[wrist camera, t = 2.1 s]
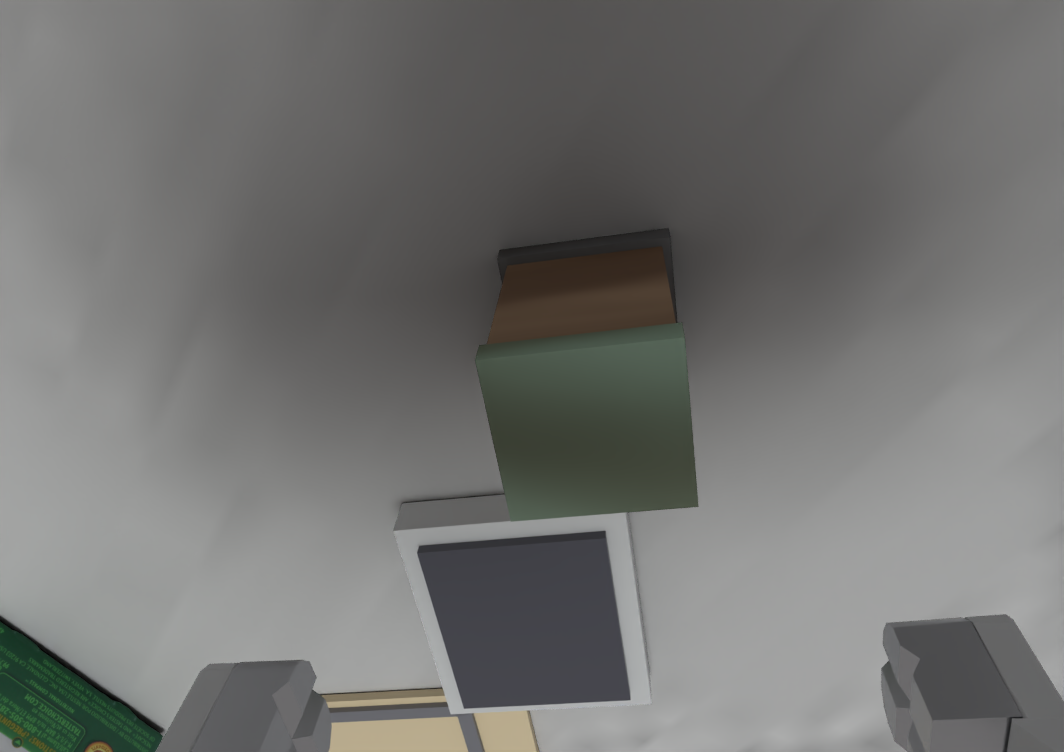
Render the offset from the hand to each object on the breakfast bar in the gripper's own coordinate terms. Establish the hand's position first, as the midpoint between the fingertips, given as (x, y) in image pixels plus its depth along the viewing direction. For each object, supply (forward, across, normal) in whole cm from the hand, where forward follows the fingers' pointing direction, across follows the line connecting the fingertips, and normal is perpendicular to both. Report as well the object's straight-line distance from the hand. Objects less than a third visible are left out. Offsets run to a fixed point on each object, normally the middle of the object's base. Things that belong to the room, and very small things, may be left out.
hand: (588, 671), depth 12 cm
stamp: (+10, 0, -1) cm, 10 cm away
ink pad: (+10, +3, +8) cm, 14 cm away
